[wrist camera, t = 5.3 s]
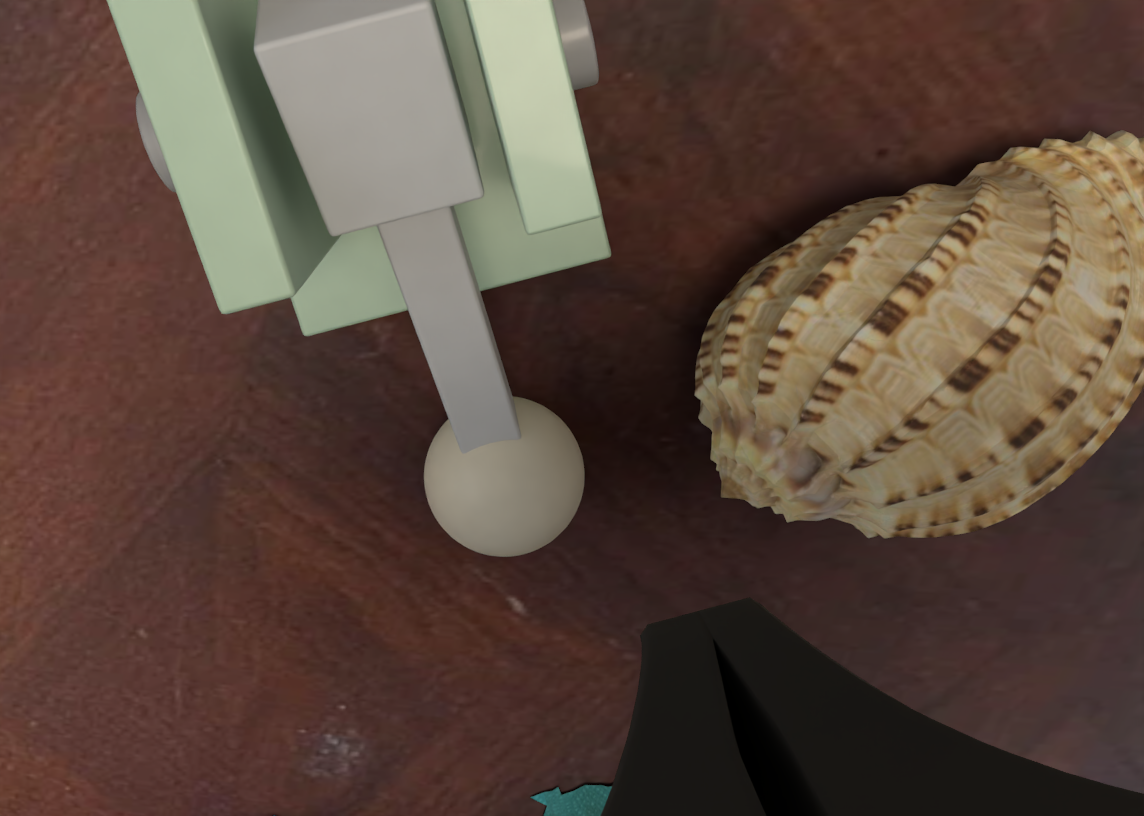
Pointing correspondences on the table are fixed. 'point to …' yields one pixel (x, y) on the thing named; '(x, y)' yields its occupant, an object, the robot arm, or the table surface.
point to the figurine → (575, 801)
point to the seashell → (936, 346)
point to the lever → (420, 246)
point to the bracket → (280, 189)
